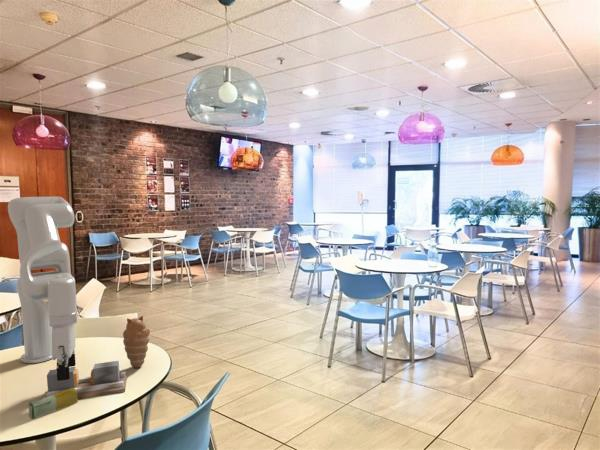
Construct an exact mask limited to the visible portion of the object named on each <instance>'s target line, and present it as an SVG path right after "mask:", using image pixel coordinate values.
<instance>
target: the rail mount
mask: <svg viewBox="0 0 600 450" xmlns="http://www.w3.org/2000/svg"><path fill="white" fill-rule="evenodd" d="M127 380H128V372H126V371H121V372H120V362H119V360H113V361H105V362H99V363H94V365H93V367H92V369H91V372H90V376H84V377H79V383H78V385H77V386H76V388H74V389H75V390H77V400H80V399H85V398H86V399H87V398H93V397H98V396H99V397H100V396H105V395H106V396H107V395H112V394H113V395H114V394H119V393H125V392H126V388H127V387H126V386H127ZM66 390H69V389H65V390H58V391H51V392H48V391H47V392H46V393H45V397H44V398H46V397H49V396H52V395H55V394H58V393H61V392H64V391H66Z"/></svg>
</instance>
